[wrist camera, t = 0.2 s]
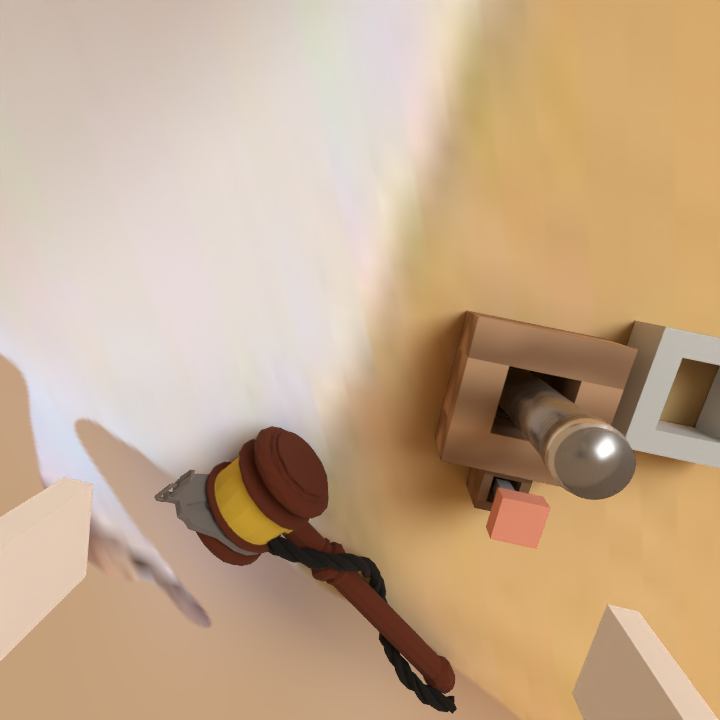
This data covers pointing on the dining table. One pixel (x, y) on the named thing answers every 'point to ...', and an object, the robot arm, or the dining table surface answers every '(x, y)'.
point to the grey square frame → (651, 389)
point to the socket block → (485, 384)
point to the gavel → (299, 541)
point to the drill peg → (568, 438)
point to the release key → (516, 516)
